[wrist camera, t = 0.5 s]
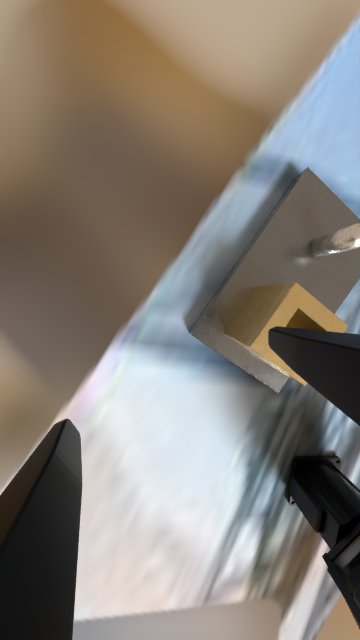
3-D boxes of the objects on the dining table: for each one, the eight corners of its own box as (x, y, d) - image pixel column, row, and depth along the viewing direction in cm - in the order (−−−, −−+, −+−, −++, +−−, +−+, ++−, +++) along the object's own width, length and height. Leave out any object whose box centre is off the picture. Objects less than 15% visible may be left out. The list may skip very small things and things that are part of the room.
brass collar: (259, 286, 19) (296, 282, 14) (300, 319, 20) (348, 325, 15) (226, 334, 19) (250, 347, 14) (268, 364, 20) (305, 386, 15)
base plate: (296, 176, 20) (349, 131, 14) (368, 247, 22) (438, 230, 16) (188, 332, 20) (201, 344, 15) (269, 387, 22) (306, 415, 17)
